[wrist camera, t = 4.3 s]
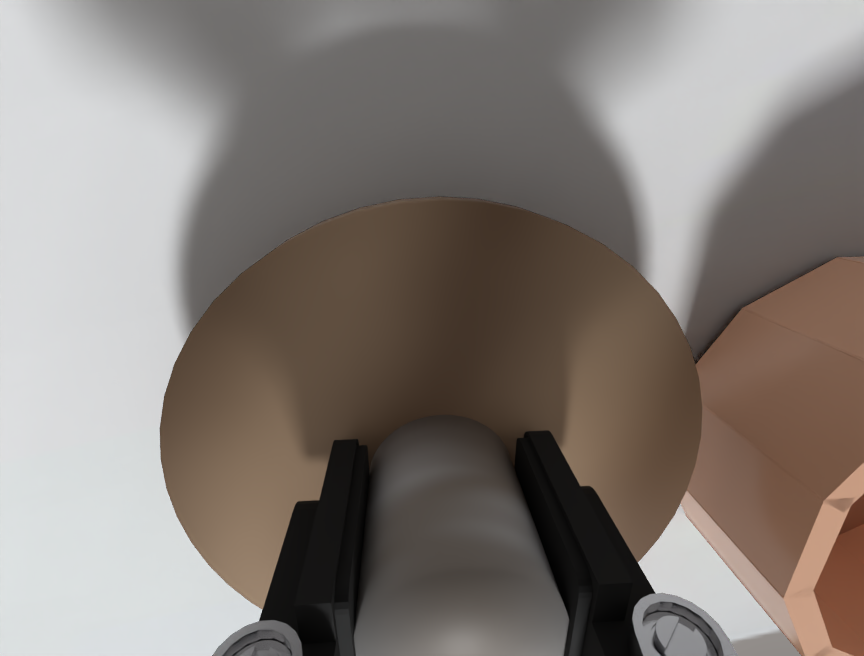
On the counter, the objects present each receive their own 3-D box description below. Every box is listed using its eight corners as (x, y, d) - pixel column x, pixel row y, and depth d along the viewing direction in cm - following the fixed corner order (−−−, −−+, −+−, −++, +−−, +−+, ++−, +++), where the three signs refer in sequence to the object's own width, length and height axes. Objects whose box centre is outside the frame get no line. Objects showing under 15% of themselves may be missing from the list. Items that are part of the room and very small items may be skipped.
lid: (732, 194, 10) (1045, 228, 5) (632, 604, 14) (744, 818, 10) (118, 198, 9) (-200, 244, 4) (230, 631, 14) (139, 879, 9)
